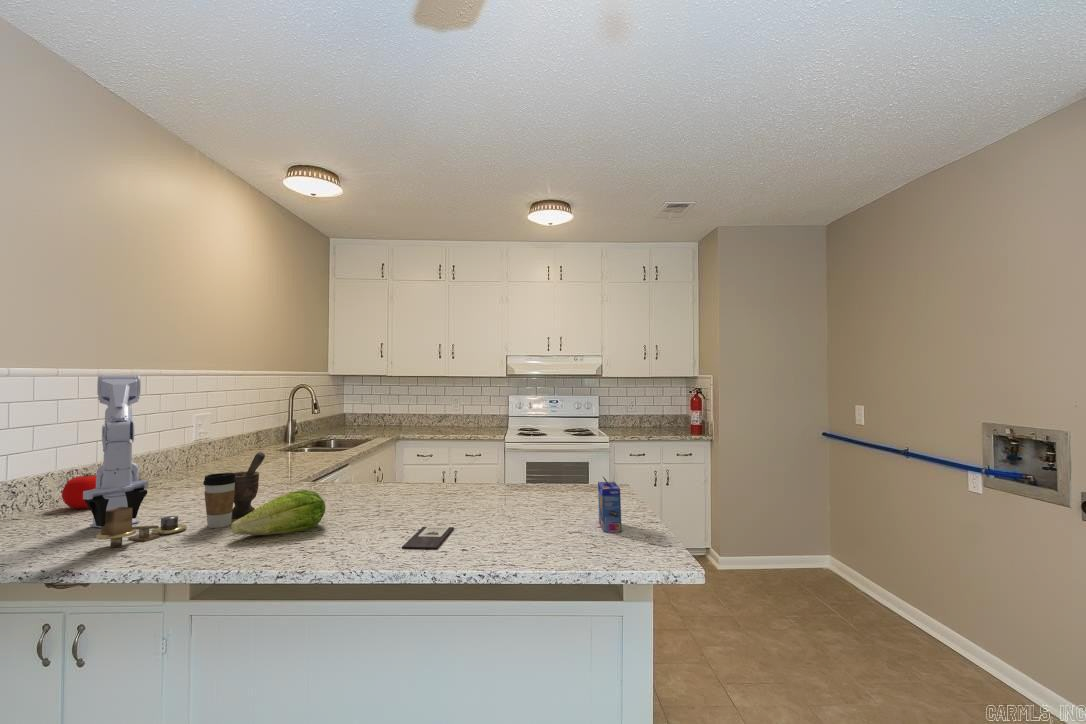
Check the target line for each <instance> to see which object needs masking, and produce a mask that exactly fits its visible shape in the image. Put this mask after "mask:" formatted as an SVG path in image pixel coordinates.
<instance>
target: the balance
mask: <svg viewBox="0 0 1086 724" xmlns="http://www.w3.org/2000/svg"><path fill="white" fill-rule="evenodd" d="M186 529H187V525H186V524H179V516H178V515H168V516H163V517H161V518H160V526H159V525H157V524H156V525H154V524H153V525H138V526H132V531H130V532H127V533H123V534H119V535H116V536H110V535H101V532H99V533H97V534H96V535H95V537H96V539H98V540H109V541H110V543H109V546H110V549H115V548H121V547H122V546H123V538H125V537H128V536H129V537H128V539H127V540H130V541H137V542H143V543H145V542H149V541H152V540H155V539H158V538H161V537H160V535H168V534H174V533H180V532H182V531H185V530H186ZM137 530H138V534H136V533H137ZM150 530H151V533H150ZM135 534H136V535H135ZM131 535H133V536H131Z"/></svg>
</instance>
